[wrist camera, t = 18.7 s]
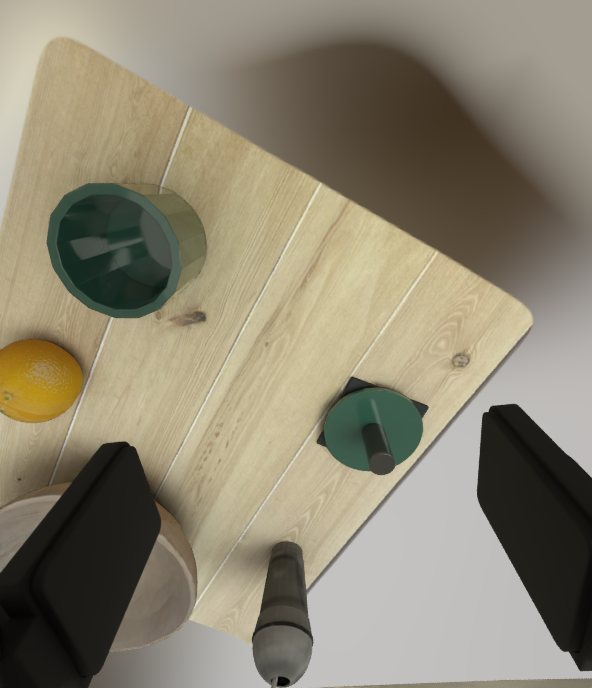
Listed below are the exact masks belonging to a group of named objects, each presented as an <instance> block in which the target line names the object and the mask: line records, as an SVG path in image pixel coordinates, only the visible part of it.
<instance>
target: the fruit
mask: <svg viewBox="0 0 592 688" xmlns="http://www.w3.org/2000/svg"><path fill="white" fill-rule="evenodd" d="M82 385H83V375H82V371H81V368H80V366H79V364H78V363H77V361H76V360H75V359H74V358H73V357H72V356H71V355H70V354H69V353H68V352H66V351H65V350H63V349H62V348H60V347H59V346H57V345H55V344H53V343H50V342H47V341H43V340H36V339H28V340H21V341H17V342H14V343H12V344H10V345H8V346H6V347H4V348H3V349H1V350H0V412H1V413H2V414H4V415H6V416H7V417H9V418H11V419H14V420H17V421H20V422H26V423H40V422H45V421H49V420H52V419H54V418H56V417H58V416H60V415H61V414H63V413H64V412H65V411H66V410H68V409H69V408H70V407H71V406H72V404H73V403H74V402H75V400H76V399H77V397H78V395H79V393H80V391H81V388H82Z"/></svg>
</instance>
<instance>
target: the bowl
mask: <svg viewBox="0 0 592 688" xmlns="http://www.w3.org/2000/svg"><path fill="white" fill-rule="evenodd" d="M71 483H72V482H68V483H61V484H56V485H52V486H48V487H44V488H41V489H37V490H35V491H32V492H29V493H27V494H24V495H22V496H19V497H17V498H16V499H14V500H12V501H10V502H9V503H7V504H5V505H4V506H2V507H0V572H1V571H2V570H3V569H4V567H5V566H6V565H7V564H8V562H9V561H10V560H11V559H12V557H13V556H14V555H15V554H16V552H17V551H18V550H19V549H20V547H21V546H22V545H23V544H24V542H25V541H26V540H27V539H28V537H29V536H30V535H31V533H32V532H33V531H34V530H35V528H36V527H37V526H38V525H39V523H40V522H41V521H42V520H43V518H44V517H45V516H46V515H47V513H48V512H49V511H50V510H51V508H52V507H53V506H54V505H55V503H56V502H57V501H58V500H59V498H60V497H61V496H62V495H63V493H64V492H65V491H66V489H67V488H68V487H69V486H70V484H71ZM155 503H156V506H157V508H158V511H159V514H160V517H161V530H160V533H159V535H158V537H157V540H156V542H155V544H154V547H153V549H152V552H151V554H150V556H149V559H148V561H147V563H146V566H145V568H144V570H143V573H142V575H141V577H140V580H139V582H138V585H137V587H136V589H135V592H134V594H133V596H132V599H131V601H130V603H129V606H128V608H127V610H126V613H125V615H124V618H123V620H122V622H121V625H120V627H119V629H118V632H117V634H116V636H115V639H114V641H113V643H112V646H111V648H110V650H109V652H115V651H124V650H131V649H137V648H142V647H145V646H147V645H150V644H154V643H156V642H158V641H160V640H163V639H166V638H168V637H169V636H171V635H172V634H174V633H175V632H177V631H178V630H179V629H180V628H181V627H182V626H183V625H184V623H185V622H186V621H187V620H188V619H189V617H190V616H191V614H192V611H193V609H194V606H195V603H196V597H197V568H196V562H195V558H194V554H193V551H192V548H191V546H190V544H189V542H188V540H187V538H186V536H185V534H184V532H183V530H182V528H181V527H180V525H179V524H178V522H177V521H176V520H175V519H174V517H173V516H172V515H171V514H170V513H169V512H168V511H167V510H165V509H164V508H163V507H162V506H161V505H160V504H159V503H157V502H156V501H155Z"/></svg>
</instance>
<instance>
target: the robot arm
mask: <svg viewBox="0 0 592 688" xmlns="http://www.w3.org/2000/svg"><path fill="white" fill-rule="evenodd" d="M477 497H478V501H479V504H480V506H481V508H482V510H483V512H484V514H485V515H486V517H487V519H488V521H489V523H490V525H491V526H492V528H493V530H494V532H495V534H496V535H497V537H498V539H499V541H500V543H501V544H502V546H503V548H504V550H505V552H506V553H507V555H508V557H509V559H510V561H511V563H512V564H513V566H514V568H515V570H516V572H517V574H518V575H519V577H520V579H521V581H522V582H523V584H524V586H525V588H526V590H527V591H528V593H529V595H530V597H531V599H532V601H533V603H534V604H535V606H536V608H537V610H538V611H539V613H540V615H541V617H542V619H543V620H544V622H545V624H546V626H547V628H548V630H549V631H550V633H551V635H552V637H553V639H554V641H555V642H556V644H557V645H558V647H559V648H560V649H561V650H562V651H564V652H567V651H569V653H570V654H571V656H572V658H573V659H574V661H575V663H576V665H577V667H578V668H579V670H580V671H592V478H591V477H590V476H589V475H588V474H587V473H586V472H585V471H584V470H583V469H582V468H581V467H580V466H579V465H578V464H577V463H576V462H575V461H574V460H573V459H572V458H571V457H570V456H568V455H567V454H566V453H565V452H564V451H563V450H562V449H561V448H560V447H558V445H557V444H556V443H555V442H554V441H553V440H552V439H551V438H550V437H549V436H548V435H547V434H546V433H545V432H544V431H543V430H542V429H541V428H540V427H539V426H538V425H537V424H536V423H535V422H534V421H533V420H532V419H531V418H530V417H529V416H528V415H527V414H526V413H525V412H524V411H523V410H522V409H521V408H520V407H519V406H518V405H517V404H507V405H497V406H491V407H490V409H489V412H485V413H484V414H483V417H482V430H481V443H480V457H479V470H478V485H477ZM160 530H161V517H160V514H159V511H158V508H157V506H156V503H155V500H154V497H153V495H152V492H151V489H150V486H149V484H148V481H147V478H146V475H145V473H144V470H143V467H142V465H141V462H140V459H139V456H138V454H137V451H136V449H135V448H134V447H133V446H130V445H129V444H128V443H127V442H114V443H105V444H103V445H102V446H101V447H100V448H99V449H98V450H97V452H96V453H95V454H94V456H93V457H92V458H91V459H90V461H89V462H88V463H87V464H86V466H85V467H84V468H83V469H82V471H81V472H80V473H79V474H78V476H77V477H76V478H75V479H74V481H73V482H72V483H71V484H70V486H69V487H68V488H67V489H66V491H65V492H64V493H63V495H62V496H61V497H60V498H59V500H58V501H57V502H56V503H55V505H54V506H53V507H52V508H51V510H50V511H49V512H48V513H47V515H46V516H45V517H44V518H43V520H42V521H41V522H40V523H39V525H38V526H37V527H36V528H35V530H34V531H33V532H32V533H31V535H30V536H29V537H28V539H27V540H26V541H25V542H24V544H23V545H22V546H21V547H20V549H19V550H18V551H17V552H16V554H15V555H14V556H13V557H12V559H11V560H10V561H9V562H8V564H7V565H6V566H5V567H4V569H3V570H2V571H1V572H0V688H88V686H89V684H90V682H91V679H92V677H93V675H96V674H97V673H99V671H100V670H101V668H102V666H103V665H104V662H105V660H106V658H107V655H108V653H109V650H110V648H111V646H112V643H113V641H114V639H115V636H116V634H117V632H118V629H119V627H120V625H121V622H122V620H123V618H124V615H125V613H126V610H127V608H128V606H129V603H130V601H131V599H132V596H133V594H134V592H135V589H136V587H137V585H138V582H139V580H140V577H141V575H142V573H143V570H144V568H145V566H146V563H147V561H148V559H149V556H150V554H151V552H152V549H153V547H154V544H155V542H156V540H157V537H158V535H159V533H160ZM325 688H592V679H547V680H546V679H545V680H544V679H543V680H499V681H472V682H447V683H421V684H395V685H370V686H347V687H325Z"/></svg>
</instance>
